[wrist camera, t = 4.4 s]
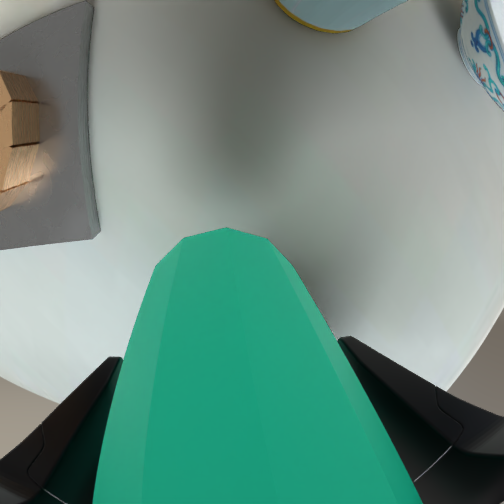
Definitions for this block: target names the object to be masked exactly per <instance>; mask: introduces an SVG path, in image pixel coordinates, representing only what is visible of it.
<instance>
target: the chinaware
mask: <svg viewBox="0 0 504 504" xmlns="http://www.w3.org/2000/svg"><path fill="white" fill-rule="evenodd" d="M460 26H461V27H460V28H459V30H458V33H457V42H458V48H459V51H460V55H461V57H462V60H463V62H464V64H465V66H466V68H467V70H468V72H469V73H470V75H471V76H472V78H473V79H474V80H475V81H476V82H477V83H478V84H479V85H481V86H482V87H484V89H485V90H486V91H487V93H488V94H489V95H490V97H491V98H492V99H493V100H494V101H495V103H496V104H497V105H498V106H499V107H500V108H501V109H502V110H503V111H504V0H463V3H462V7H461V15H460Z"/></svg>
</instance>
